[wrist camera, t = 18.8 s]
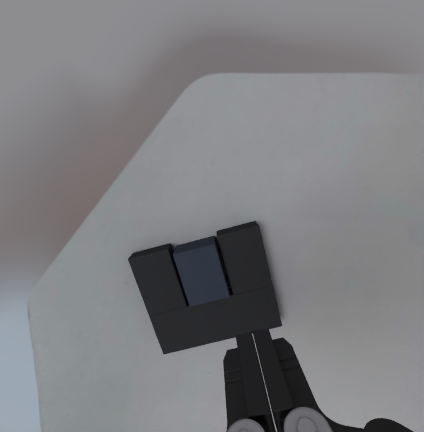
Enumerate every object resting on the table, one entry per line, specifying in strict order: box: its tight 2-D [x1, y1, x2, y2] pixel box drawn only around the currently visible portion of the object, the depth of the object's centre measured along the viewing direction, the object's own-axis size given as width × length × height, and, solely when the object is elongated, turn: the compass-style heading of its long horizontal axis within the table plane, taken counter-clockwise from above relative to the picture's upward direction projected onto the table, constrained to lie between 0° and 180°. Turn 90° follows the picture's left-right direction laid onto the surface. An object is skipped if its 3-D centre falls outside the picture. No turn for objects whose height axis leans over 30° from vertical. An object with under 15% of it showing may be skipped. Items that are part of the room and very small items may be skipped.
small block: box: [173, 236, 230, 307], centre depth 30 cm, size 7×5×3 cm
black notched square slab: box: [128, 221, 282, 354], centre depth 31 cm, size 14×16×2 cm
